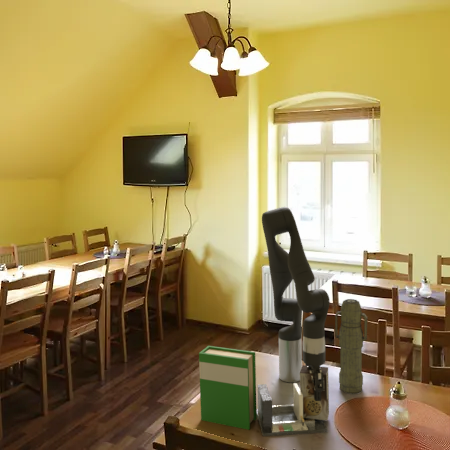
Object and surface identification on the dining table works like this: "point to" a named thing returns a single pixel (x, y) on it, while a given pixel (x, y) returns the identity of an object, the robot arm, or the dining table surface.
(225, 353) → the hardback book
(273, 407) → the gauge frame
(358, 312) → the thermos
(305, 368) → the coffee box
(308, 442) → the dining table surface
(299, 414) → the paddle
